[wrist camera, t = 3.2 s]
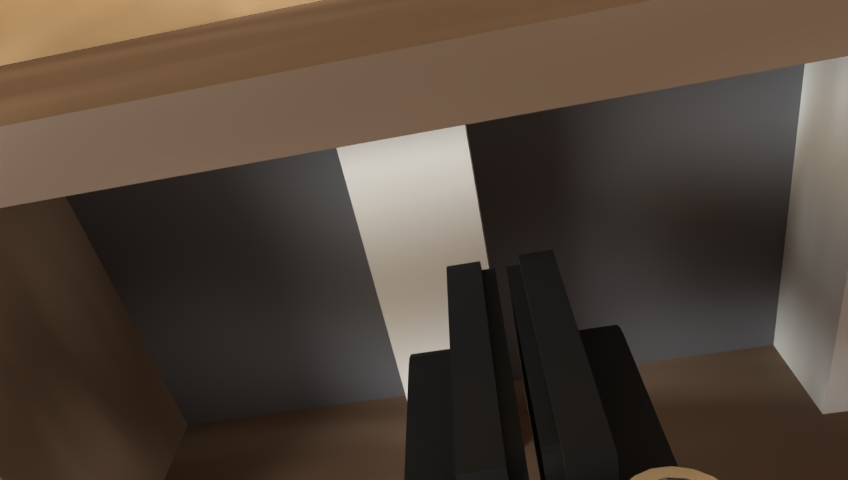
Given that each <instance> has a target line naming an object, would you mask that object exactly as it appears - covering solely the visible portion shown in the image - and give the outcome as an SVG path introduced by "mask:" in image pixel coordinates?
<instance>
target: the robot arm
mask: <svg viewBox="0 0 848 480" xmlns="http://www.w3.org/2000/svg"><path fill="white" fill-rule="evenodd" d="M518 263H519V264H517V265H510V266H506V271H507V278H508V284H509V291H510V297H511V304H512V311H513V317H514V324H515V330H516V337H517V343H518V350H519V356H520V363H521V370H522V376H523V383H524V389H525V395H526V401H527V407H528V413H529V419H530V424H531V430H532V435H533V441H534V446H535V452H536V457H537V463H538V468H539V474H540V479H541V480H718V479H717V478H715V477H713V476H711V475H708V474H705V473H703V472H700V471H697V470H694V469H690V468H682V467H678V465H677V463H676V460H675V458H674V455H673V453H672V450H671V448H670V446H669V443H668V441H667V438H666V436H665V433H664V431H663V429H662V426H661V424H660V421H659V419H658V416H657V414H656V412H655V409H654V407H653V404H652V402H651V400H650V397H649V395H648V392H647V390H646V387H645V385H644V383H643V380H642V378H641V375H640V373H639V370H638V368H637V366H636V363H635V361H634V358H633V356H632V353H631V351H630V349H629V346H628V344H627V341H626V339H625V336H624V334H623V332H622V330H621V328H620V327H619V326H618V325H611V326H604V327H597V328H590V329H583V330H578V328H577V325H576V321H575V318H574V315H573V312H572V309H571V306H570V303H569V299H568V296H567V293H566V290H565V287H564V284H563V281H562V278H561V274H560V271H559V268H558V265H557V262H556V259H555V256H554V253H553V250H547V251H541V252H534V253H528V254H522V255H518ZM447 294H448V317H449V340H450V349H445V350H438V351H431V352H424V353H417V354H411V355H410V358H409V371H408V396H407V421H406V447H405V472H404V480H529V474H528V468H527V462H526V456H525V449H524V443H523V437H522V431H521V425H520V419H519V413H518V406H517V400H516V394H515V388H514V382H513V376H512V370H511V364H510V357H509V351H508V345H507V339H506V333H505V327H504V321H503V315H502V308H501V302H500V296H499V290H498V284H497V278H496V272H495V268H491V269H485V270H482V268H481V263H480V261H477V262H471V263H465V264H458V265H452V266H447Z"/></svg>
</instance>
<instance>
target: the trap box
mask: <svg viewBox="0 0 848 480" xmlns="http://www.w3.org/2000/svg"><path fill="white" fill-rule="evenodd" d="M547 250H553V253H554V256H555V259H556V262H557V265H558V268H559V271H560V274H561V278H562V281H563V284H564V287H565V290H566V293H567V296H568V299H569V303H570V306H571V309H572V312H573V315H574V318H575V321H576V325H577V328H578V330H583V329H590V328H597V327H604V326H611V325H618V326H619V327H620V328H621V330H622V332H623V334H624V336H625V339H626V341H627V344H628V346H629V349H630V351H631V353H632V356H633V358H634V361H635V363H636V366H637V368H638V370H639V373H640V375H641V378H642V380H643V383H644V385H645V387H646V390H647V392H648V395H649V397H650V400H651V402H652V404H653V407H654V409H655V412H656V414H657V416H658V419H659V421H660V424H661V426H662V429H663V431H664V433H665V436H666V438H667V441H668V443H669V446H670V448H671V450H672V453H673V455H674V458H675V460H676V463H677V465H678V467H682V468H690V469H694V470H697V471H700V472H703V473H705V474H708V475H711V476H713V477H715V478H717V479H718V480H848V0H323V1H318V2H313V3H308V4H303V5H298V6H293V7H288V8H283V9H279V10H274V11H269V12H264V13H259V14H254V15H249V16H244V17H239V18H234V19H230V20H225V21H220V22H215V23H210V24H205V25H200V26H195V27H190V28H185V29H181V30H176V31H171V32H166V33H161V34H156V35H151V36H146V37H141V38H136V39H131V40H127V41H122V42H117V43H112V44H107V45H102V46H97V47H92V48H87V49H82V50H78V51H73V52H68V53H63V54H58V55H53V56H48V57H43V58H38V59H33V60H28V61H24V62H19V63H14V64H9V65H4V66H0V480H404V472H405V447H406V421H407V396H408V371H409V358H410V355H411V354H417V353H424V352H431V351H438V350H445V349H450V340H449V317H448V294H447V266H452V265H458V264H465V263H471V262H477V261H480V263H481V268H482V270H485V269H491V268H495V272H496V278H497V284H498V290H499V296H500V302H501V308H502V315H503V321H504V327H505V333H506V339H507V345H508V351H509V357H510V364H511V370H512V376H513V382H514V388H515V394H516V400H517V406H518V413H519V419H520V425H521V431H522V437H523V443H524V449H525V456H526V462H527V468H528V474H529V480H541V479H540V474H539V468H538V463H537V457H536V452H535V446H534V441H533V435H532V430H531V424H530V419H529V413H528V407H527V401H526V395H525V389H524V383H523V376H522V370H521V363H520V356H519V350H518V343H517V337H516V330H515V324H514V317H513V311H512V304H511V297H510V291H509V284H508V278H507V271H506V266H510V265H517V264H519V263H518V255H522V254H528V253H534V252H541V251H547Z"/></svg>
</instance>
